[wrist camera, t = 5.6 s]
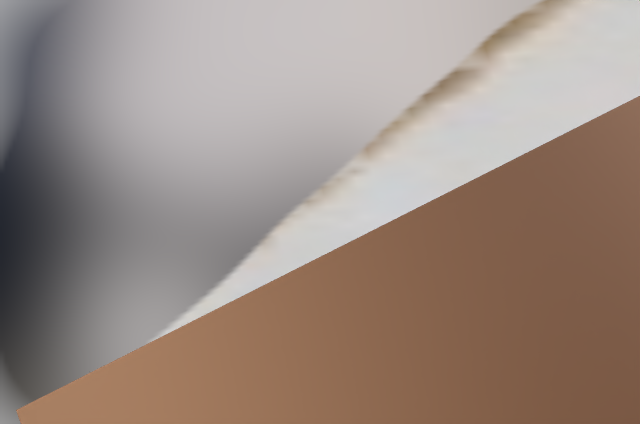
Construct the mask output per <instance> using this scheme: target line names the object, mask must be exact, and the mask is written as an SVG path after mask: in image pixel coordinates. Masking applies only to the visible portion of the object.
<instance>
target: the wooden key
mask: <svg viewBox="0 0 640 424" xmlns="http://www.w3.org/2000/svg"><path fill="white" fill-rule="evenodd" d="M16 411H17V414H18V417H19V420H20V422H21V424H640V96H639V97H637V98H635V99H633V100H631V101H629V102H627V103H625V104H623V105H621V106H619V107H617V108H615V109H613V110H611V111H609V112H607V113H605V114H603V115H601V116H599V117H597V118H595V119H593V120H591V121H589V122H587V123H585V124H583V125H581V126H579V127H577V128H575V129H573V130H571V131H569V132H567V133H565V134H563V135H561V136H559V137H557V138H555V139H553V140H551V141H549V142H547V143H545V144H543V145H541V146H539V147H537V148H535V149H533V150H531V151H529V152H527V153H526V154H524V155H522V156H520V157H518V158H516V159H514V160H512V161H510V162H508V163H506V164H504V165H502V166H500V167H498V168H496V169H494V170H492V171H490V172H488V173H486V174H484V175H482V176H480V177H478V178H476V179H474V180H472V181H470V182H468V183H466V184H464V185H462V186H460V187H458V188H456V189H454V190H452V191H450V192H448V193H446V194H444V195H442V196H440V197H438V198H436V199H434V200H432V201H430V202H428V203H426V204H424V205H422V206H420V207H418V208H416V209H414V210H412V211H410V212H408V213H406V214H404V215H402V216H400V217H399V218H397V219H395V220H393V221H391V222H389V223H387V224H385V225H383V226H381V227H379V228H377V229H375V230H373V231H371V232H369V233H367V234H365V235H363V236H361V237H359V238H357V239H355V240H353V241H351V242H349V243H347V244H345V245H343V246H341V247H339V248H337V249H335V250H333V251H331V252H329V253H327V254H325V255H323V256H321V257H319V258H317V259H315V260H313V261H311V262H309V263H307V264H305V265H303V266H301V267H299V268H297V269H295V270H293V271H291V272H289V273H287V274H285V275H283V276H281V277H279V278H277V279H275V280H273V281H271V282H270V283H268V284H266V285H264V286H262V287H260V288H258V289H256V290H254V291H252V292H250V293H248V294H246V295H244V296H242V297H240V298H238V299H236V300H234V301H232V302H230V303H228V304H226V305H224V306H222V307H220V308H218V309H216V310H214V311H212V312H210V313H208V314H206V315H204V316H202V317H200V318H198V319H196V320H194V321H192V322H190V323H188V324H186V325H184V326H182V327H180V328H178V329H176V330H174V331H172V332H170V333H168V334H166V335H164V336H162V337H160V338H158V339H156V340H154V341H152V342H150V343H148V344H146V345H145V346H143V347H141V348H139V349H137V350H135V351H133V352H131V353H129V354H127V355H125V356H123V357H121V358H119V359H117V360H115V361H113V362H111V363H109V364H107V365H105V366H103V367H101V368H99V369H97V370H95V371H93V372H91V373H89V374H87V375H85V376H83V377H81V378H79V379H77V380H75V381H73V382H71V383H69V384H67V385H65V386H63V387H61V388H59V389H57V390H55V391H53V392H51V393H49V394H47V395H45V396H43V397H41V398H39V399H37V400H35V401H33V402H32V403H29V404H27V405H25V406H23V407H22V408H20V409H17V410H16Z"/></svg>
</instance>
